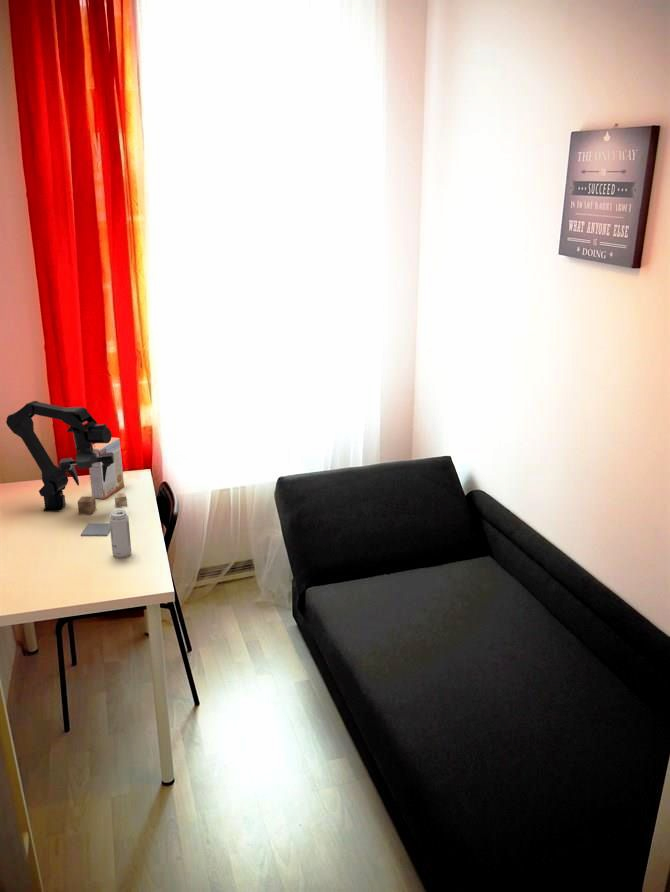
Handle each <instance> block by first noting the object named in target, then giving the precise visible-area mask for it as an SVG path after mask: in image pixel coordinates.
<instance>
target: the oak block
mask: <svg viewBox="0 0 670 892" xmlns="http://www.w3.org/2000/svg"><path fill="white" fill-rule="evenodd" d="M113 495H114V502H115V503H114V504H115V507H117V508H123V507H122V506H124V507H128V501H127V500H128V499H127V494H126V492H121V493H113Z"/></svg>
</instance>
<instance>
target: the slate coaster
mask: <svg viewBox="0 0 670 892" xmlns="http://www.w3.org/2000/svg"><path fill="white" fill-rule="evenodd" d="M109 533H110V522H99V523H98V522H87V524H86V526H85V527H84V529H83V530H82V532H81V533H80V536H81V537H107V536H108V535H109Z"/></svg>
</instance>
